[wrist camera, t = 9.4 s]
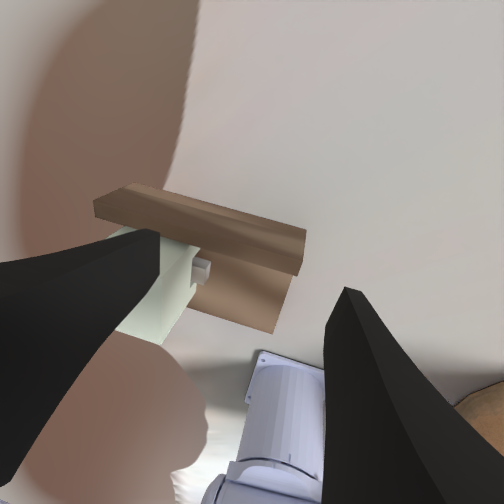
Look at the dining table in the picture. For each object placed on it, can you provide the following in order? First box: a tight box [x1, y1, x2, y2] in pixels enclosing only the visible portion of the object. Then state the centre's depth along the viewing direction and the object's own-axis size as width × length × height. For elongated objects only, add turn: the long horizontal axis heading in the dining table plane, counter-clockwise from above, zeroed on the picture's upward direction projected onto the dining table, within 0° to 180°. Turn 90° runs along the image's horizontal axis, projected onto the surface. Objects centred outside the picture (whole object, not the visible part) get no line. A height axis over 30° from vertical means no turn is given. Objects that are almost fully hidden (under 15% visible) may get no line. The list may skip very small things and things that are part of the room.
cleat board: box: [93, 182, 307, 334], centre depth 21 cm, size 10×14×4 cm
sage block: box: [105, 226, 200, 345], centre depth 20 cm, size 6×5×6 cm
